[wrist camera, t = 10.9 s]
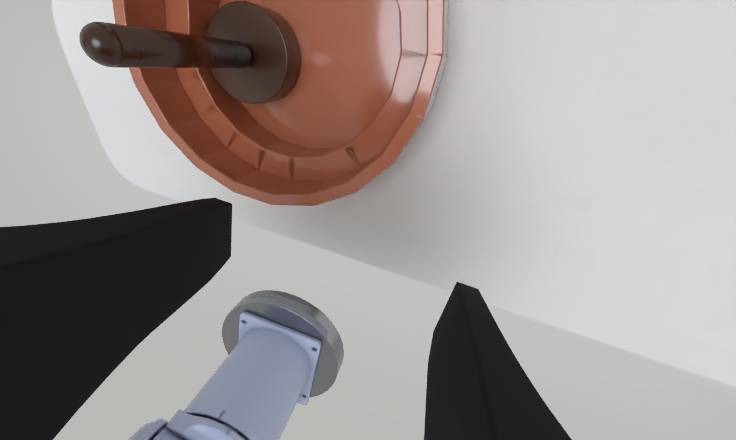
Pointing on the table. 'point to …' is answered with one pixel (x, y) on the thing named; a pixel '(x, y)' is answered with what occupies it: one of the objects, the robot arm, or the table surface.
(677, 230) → the table surface
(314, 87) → the bowl
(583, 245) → the table surface
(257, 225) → the table surface
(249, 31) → the disc with handle
